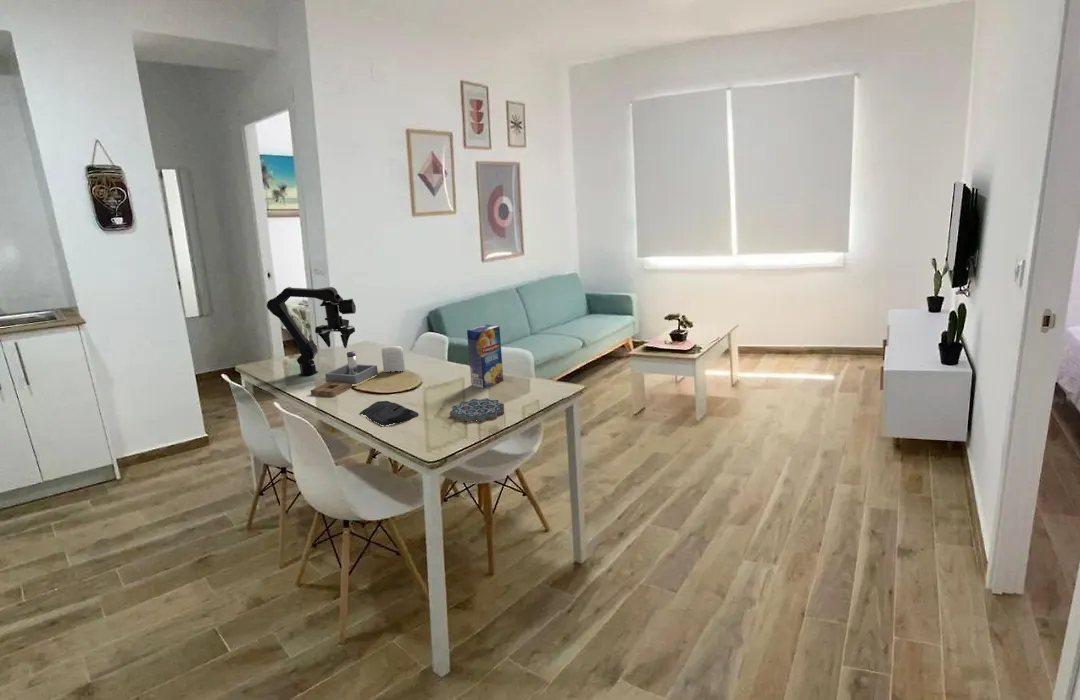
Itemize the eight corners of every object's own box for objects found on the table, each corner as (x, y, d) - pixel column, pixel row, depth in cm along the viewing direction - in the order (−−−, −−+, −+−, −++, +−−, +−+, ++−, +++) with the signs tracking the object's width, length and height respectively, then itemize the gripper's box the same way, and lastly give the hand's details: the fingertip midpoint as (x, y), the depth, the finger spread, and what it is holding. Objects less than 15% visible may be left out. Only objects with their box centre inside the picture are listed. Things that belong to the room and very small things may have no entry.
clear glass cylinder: (349, 379, 275) (345, 353, 272) (351, 377, 279) (348, 351, 275) (357, 379, 275) (353, 353, 272) (359, 376, 279) (356, 351, 275)
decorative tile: (485, 426, 216) (484, 420, 215) (440, 419, 225) (439, 413, 225) (514, 407, 233) (514, 401, 232) (471, 401, 242) (471, 395, 242)
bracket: (311, 394, 260) (310, 390, 259) (330, 385, 271) (329, 381, 270) (334, 396, 256) (333, 392, 255) (352, 387, 266) (351, 383, 266)
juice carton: (483, 388, 256) (479, 332, 250) (471, 385, 261) (466, 330, 255) (503, 380, 265) (499, 326, 259) (491, 377, 270) (487, 324, 263)
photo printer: (406, 369, 289) (403, 344, 285) (404, 372, 285) (401, 346, 281) (385, 370, 290) (382, 344, 287) (382, 372, 286) (379, 347, 282)
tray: (326, 384, 273) (325, 373, 272) (349, 373, 287) (348, 363, 286) (356, 386, 267) (355, 376, 266) (378, 375, 282) (376, 365, 281)
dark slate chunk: (392, 404, 244) (390, 393, 243) (421, 417, 228) (420, 405, 227) (356, 415, 234) (354, 403, 233) (385, 429, 219) (383, 417, 217)
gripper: (360, 311, 288) (364, 343, 292) (327, 310, 294) (332, 342, 298) (345, 316, 278) (349, 350, 282) (311, 315, 284) (316, 348, 288)
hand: (337, 347), depth 288 cm, fingers open, 9 cm apart
